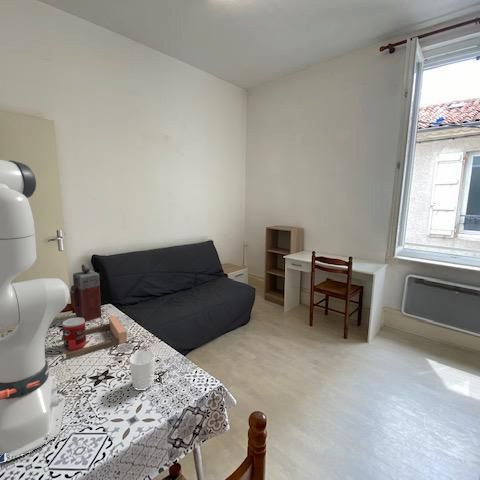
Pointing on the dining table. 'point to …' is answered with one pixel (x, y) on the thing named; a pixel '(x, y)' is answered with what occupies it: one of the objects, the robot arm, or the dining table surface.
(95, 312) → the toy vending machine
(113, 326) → the end stop
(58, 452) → the dining table surface
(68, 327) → the canned food
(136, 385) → the white cup
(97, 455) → the dining table surface
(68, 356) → the guide rails
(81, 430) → the dining table surface
